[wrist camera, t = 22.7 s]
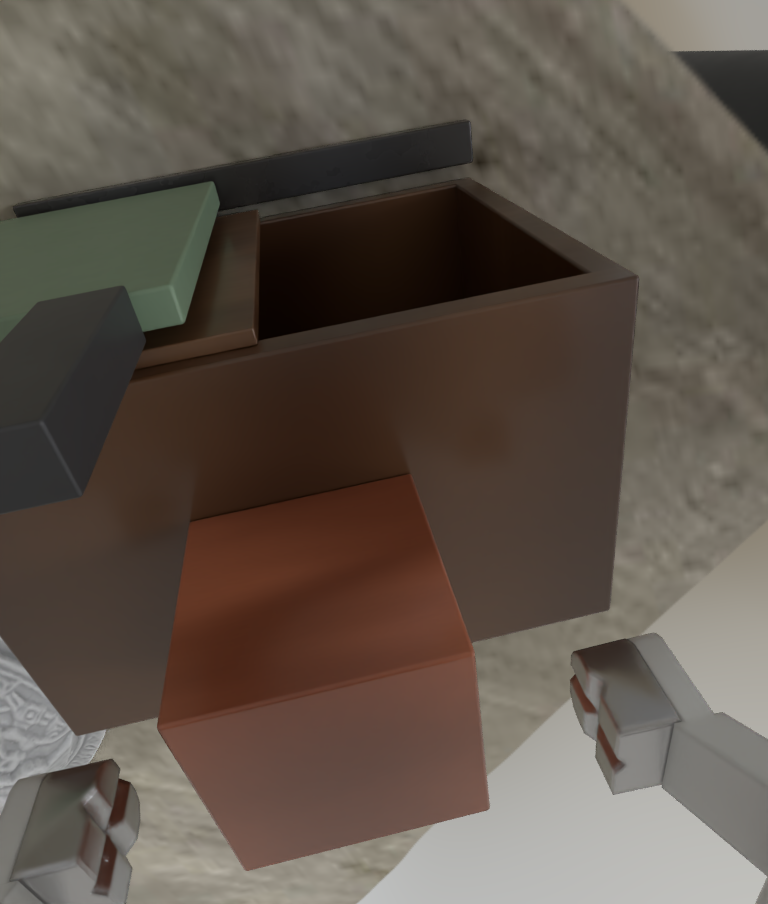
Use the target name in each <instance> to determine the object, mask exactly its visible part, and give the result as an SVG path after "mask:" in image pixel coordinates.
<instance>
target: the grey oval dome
mask: <svg viewBox="0 0 768 904" xmlns="http://www.w3.org/2000/svg"><path fill="white" fill-rule="evenodd" d="M105 731H106V730H102V731H98V732H94V733H89V734H85V735H81V736H76V735H75V734H74V733H73V732H72V730H71V729H70V728H69V726H68V725H67V724H66V722H65V721H64V720H63V718H62V717H61V716H60V715H59V713H58V712H57V711H56V709H55V708H54V707H53V705H52V704H51V703H50V701H49V700H48V699H47V697H46V696H45V695H44V694H43V692H42V691H41V690H40V688H39V687H38V686H37V684H36V683H35V682H34V680H33V679H32V678H31V677H30V675H29V674H28V673H27V671H26V670H25V669H24V667H23V666H22V665H21V663H20V662H19V661H18V660H17V658H16V657H15V656H14V654H13V653H12V652H11V650H10V649H9V648H8V646H7V645H6V644H5V642H4V641H3V640H2V639H1V637H0V814H1V813H2V810H3V808H4V805H5V802H6V799H7V797H8V794H9V791H10V790H11V788H12V787H13V786H14V784H15V783H16V782H17V780H18V779H22V778H26V777H31V776H35V775H39V774H43V773H48V772H54V771H59V770H63V769H68V768H72V767H77V766H81V765H86V764H87V763H89V762H90V761H91V759H92V758H93V756H94V754H95V753H96V751H97V749H98V747H99V745H100V743H102V742H101V741H102V739H103V738H104V735H105ZM70 753H71V754H70Z"/></svg>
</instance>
